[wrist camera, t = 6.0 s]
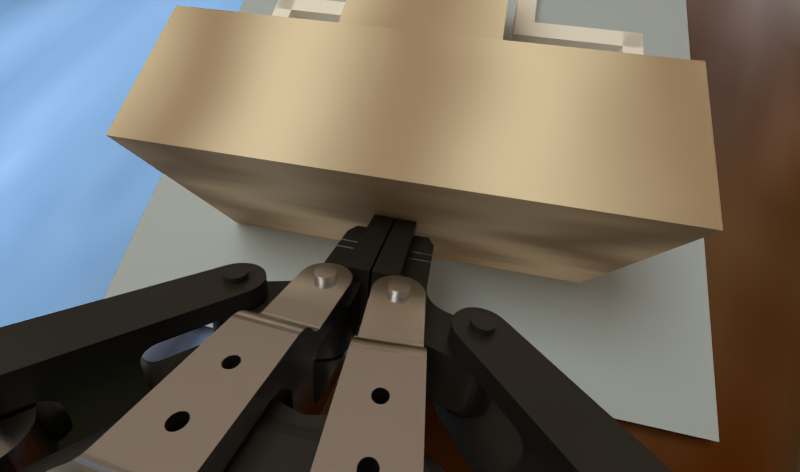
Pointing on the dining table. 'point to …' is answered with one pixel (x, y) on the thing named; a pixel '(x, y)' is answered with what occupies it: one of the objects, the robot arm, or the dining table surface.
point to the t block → (431, 133)
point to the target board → (495, 288)
